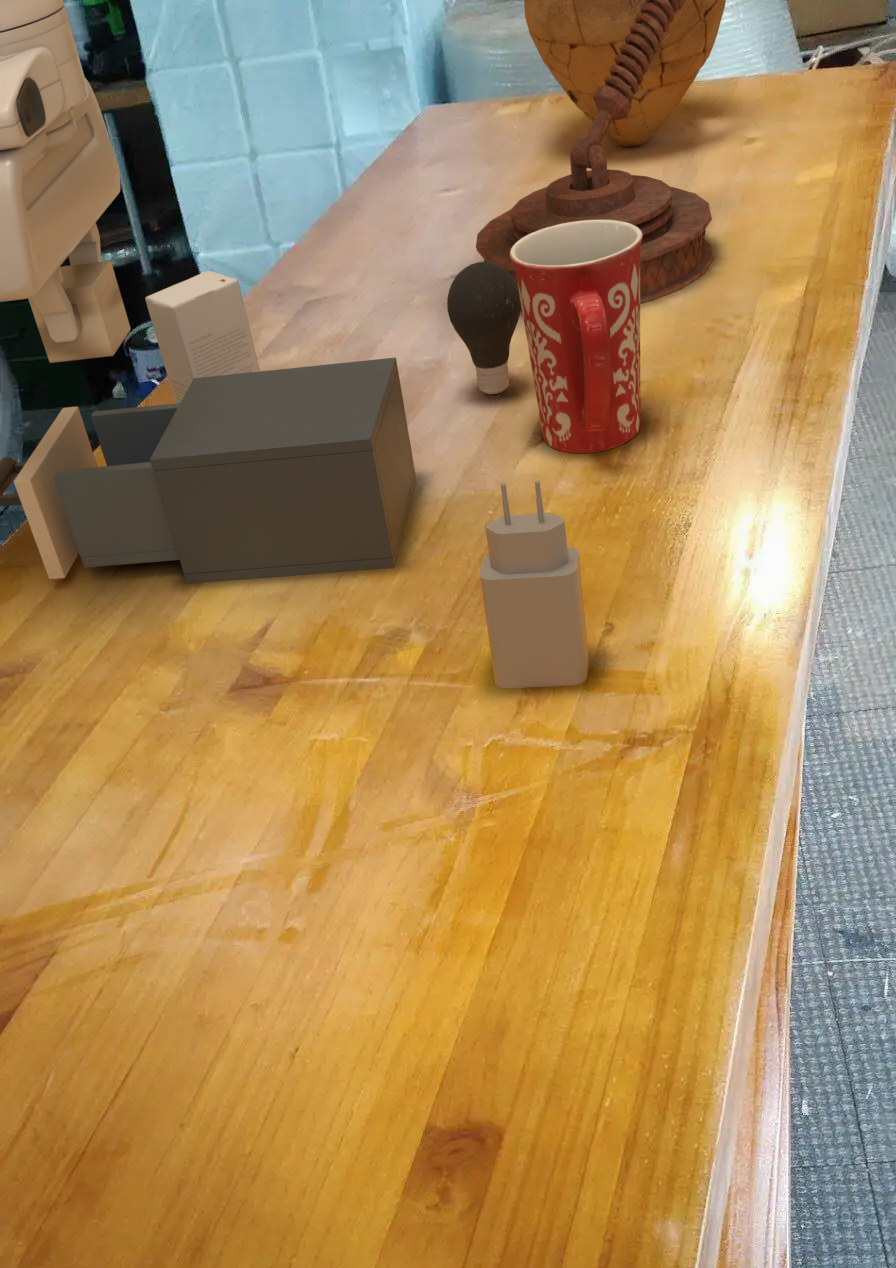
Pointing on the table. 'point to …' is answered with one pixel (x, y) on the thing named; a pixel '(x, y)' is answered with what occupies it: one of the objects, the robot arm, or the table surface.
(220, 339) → the cosmetic box
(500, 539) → the power adapter
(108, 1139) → the table surface
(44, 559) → the drawer
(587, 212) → the desk lamp
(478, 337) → the light bulb
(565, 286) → the mug
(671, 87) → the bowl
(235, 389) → the cabinet
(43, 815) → the table surface
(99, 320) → the block
